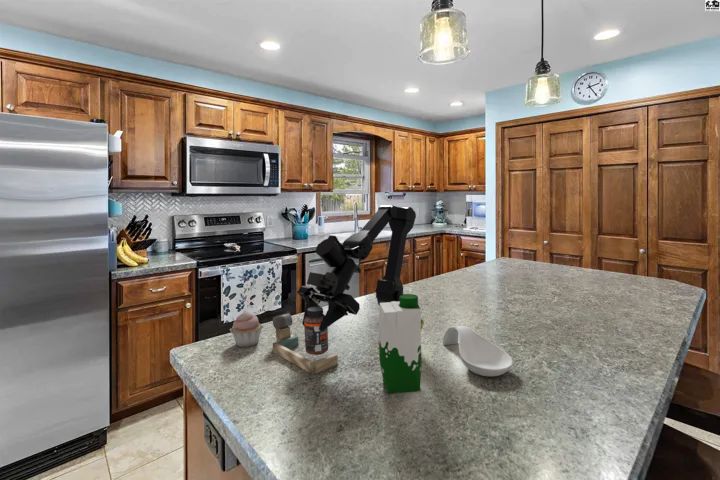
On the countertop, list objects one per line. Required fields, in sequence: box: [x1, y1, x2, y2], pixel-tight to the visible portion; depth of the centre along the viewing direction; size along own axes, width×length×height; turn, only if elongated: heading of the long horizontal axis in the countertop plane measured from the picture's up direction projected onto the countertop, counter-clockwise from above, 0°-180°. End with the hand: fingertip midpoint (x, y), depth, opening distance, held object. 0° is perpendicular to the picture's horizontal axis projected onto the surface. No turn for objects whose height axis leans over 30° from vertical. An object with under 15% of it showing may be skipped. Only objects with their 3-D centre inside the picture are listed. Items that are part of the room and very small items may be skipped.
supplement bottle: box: [303, 306, 329, 356], centre depth 95 cm, size 6×6×11 cm
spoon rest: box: [442, 325, 514, 377], centre depth 93 cm, size 24×12×7 cm, turn 15°
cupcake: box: [229, 309, 264, 348], centre depth 108 cm, size 9×9×10 cm
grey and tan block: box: [272, 311, 293, 342], centre depth 107 cm, size 4×5×9 cm
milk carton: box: [378, 293, 422, 394], centre depth 81 cm, size 9×9×20 cm
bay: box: [272, 335, 339, 375], centre depth 97 cm, size 19×8×2 cm, turn 42°
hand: (311, 327), depth 94 cm, fingers closed on supplement bottle, 6 cm apart
